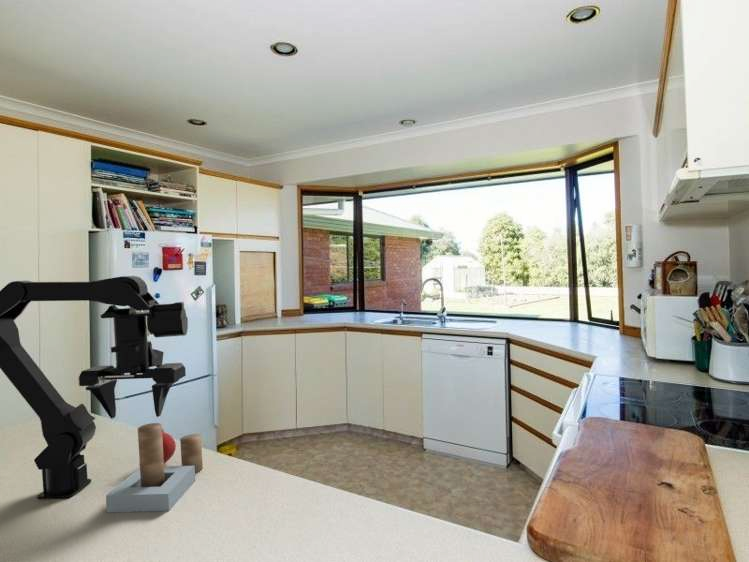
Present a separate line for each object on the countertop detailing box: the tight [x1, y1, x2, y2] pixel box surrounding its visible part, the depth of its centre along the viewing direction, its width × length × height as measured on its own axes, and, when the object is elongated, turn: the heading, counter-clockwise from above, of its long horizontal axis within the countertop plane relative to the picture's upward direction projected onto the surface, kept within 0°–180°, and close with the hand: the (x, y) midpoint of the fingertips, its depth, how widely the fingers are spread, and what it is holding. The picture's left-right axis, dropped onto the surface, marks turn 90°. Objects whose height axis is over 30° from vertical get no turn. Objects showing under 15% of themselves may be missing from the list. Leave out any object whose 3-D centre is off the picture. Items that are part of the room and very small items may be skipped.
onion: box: [162, 427, 177, 465], centre depth 97 cm, size 6×6×8 cm
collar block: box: [105, 465, 196, 513], centre depth 84 cm, size 11×11×3 cm
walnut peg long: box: [137, 422, 165, 487], centre depth 84 cm, size 4×4×13 cm
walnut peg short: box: [179, 433, 204, 474], centre depth 94 cm, size 4×4×7 cm
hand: (135, 416), depth 90 cm, fingers open, 9 cm apart
